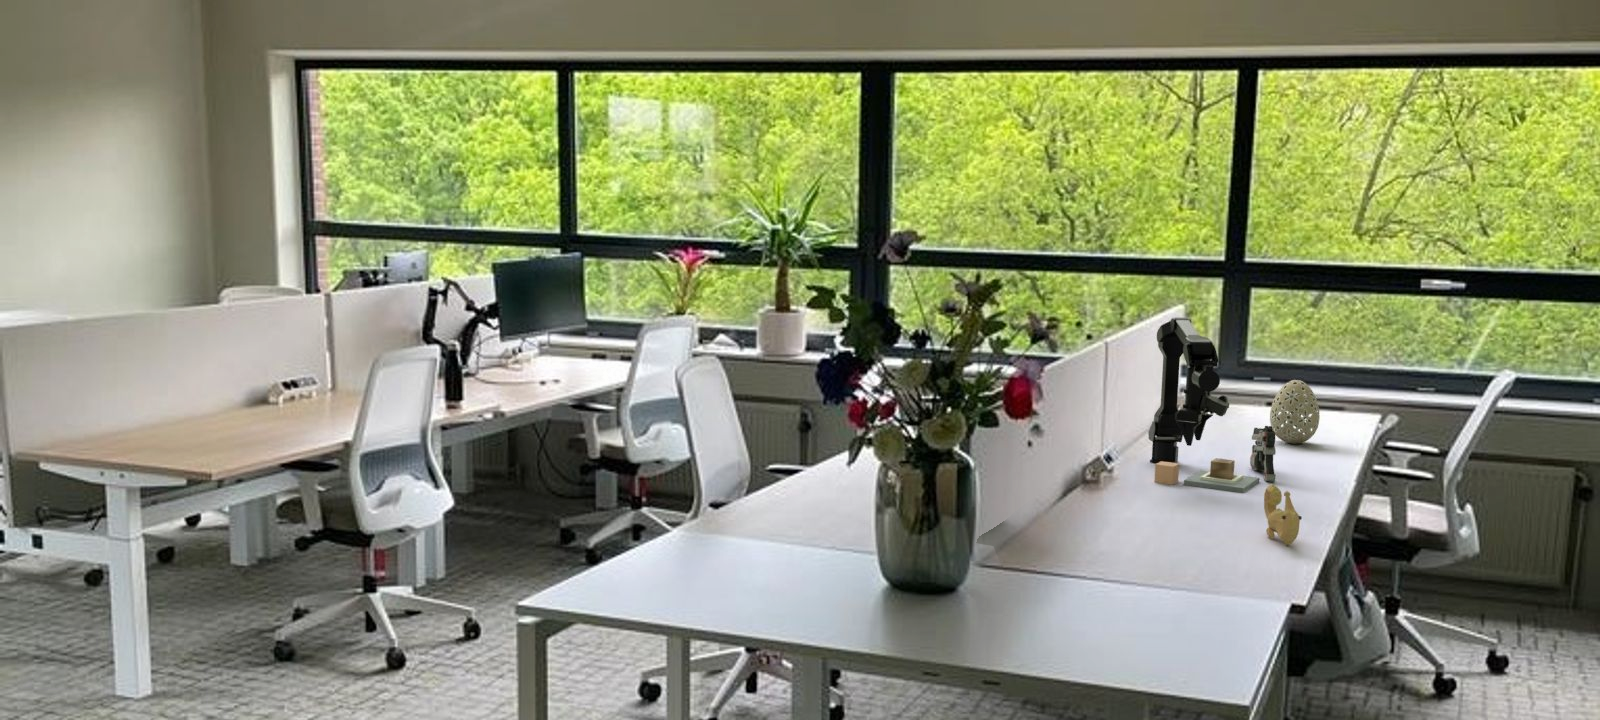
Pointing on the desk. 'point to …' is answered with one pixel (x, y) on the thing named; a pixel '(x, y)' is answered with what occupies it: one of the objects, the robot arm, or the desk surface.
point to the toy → (1280, 515)
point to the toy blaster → (1263, 452)
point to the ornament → (1294, 413)
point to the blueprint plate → (1221, 482)
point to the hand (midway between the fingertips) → (1193, 442)
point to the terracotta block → (1166, 472)
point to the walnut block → (1222, 469)
